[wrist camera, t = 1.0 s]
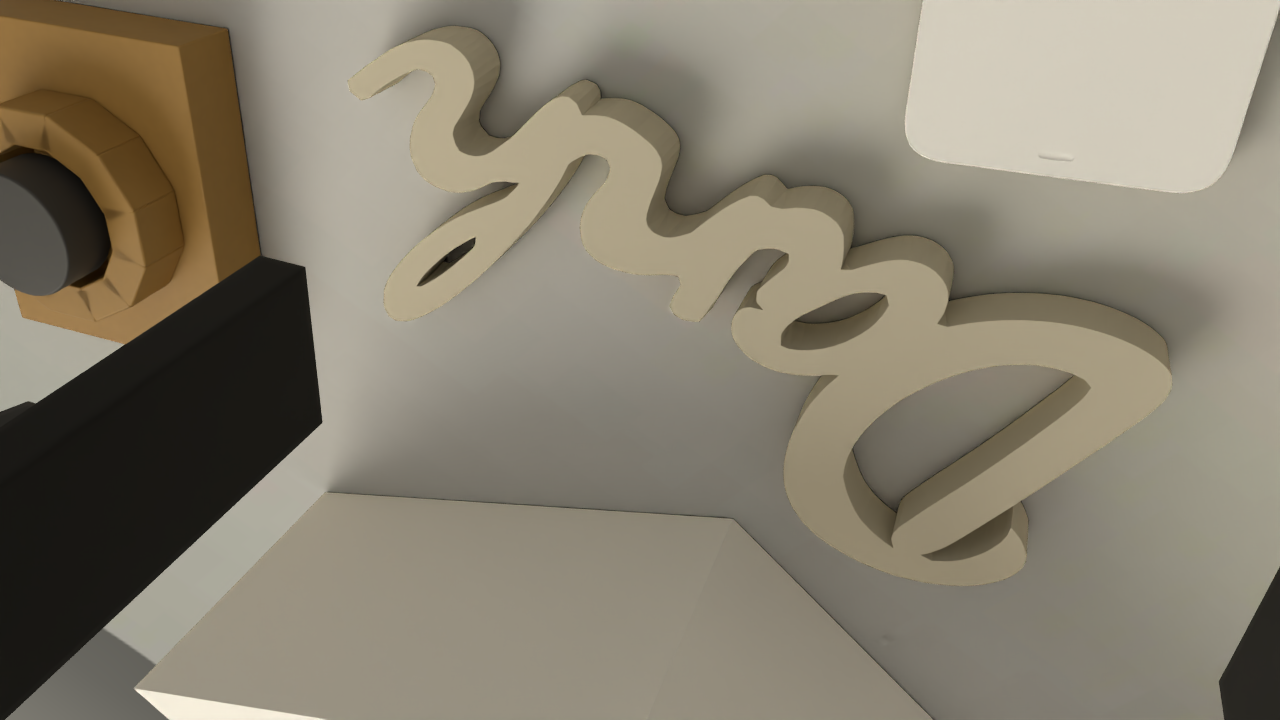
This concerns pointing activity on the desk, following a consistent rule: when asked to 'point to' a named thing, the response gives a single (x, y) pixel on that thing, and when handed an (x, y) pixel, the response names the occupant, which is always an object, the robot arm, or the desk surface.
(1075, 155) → the smartphone
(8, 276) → the button
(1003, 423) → the desk surface
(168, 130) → the button box
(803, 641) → the white box
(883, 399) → the decorative sign
